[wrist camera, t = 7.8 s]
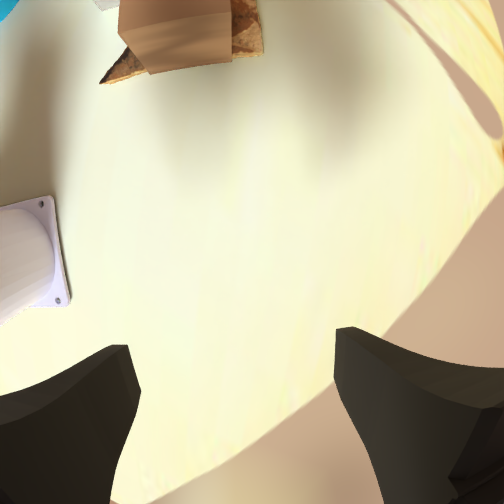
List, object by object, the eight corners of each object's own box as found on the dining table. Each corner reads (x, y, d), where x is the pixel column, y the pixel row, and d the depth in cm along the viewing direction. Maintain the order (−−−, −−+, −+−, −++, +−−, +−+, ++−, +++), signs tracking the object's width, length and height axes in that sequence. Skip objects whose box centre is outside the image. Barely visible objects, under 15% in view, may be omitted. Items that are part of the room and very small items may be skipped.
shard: (107, 90, 17) (96, 83, 15) (110, 9, 15) (102, -2, 14) (263, 63, 17) (266, 53, 16) (251, -16, 16) (252, -30, 14)
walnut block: (150, 74, 15) (117, 33, 10) (149, 14, 14) (124, -36, 8) (231, 61, 16) (231, 12, 10) (224, 1, 14) (222, -55, 9)
